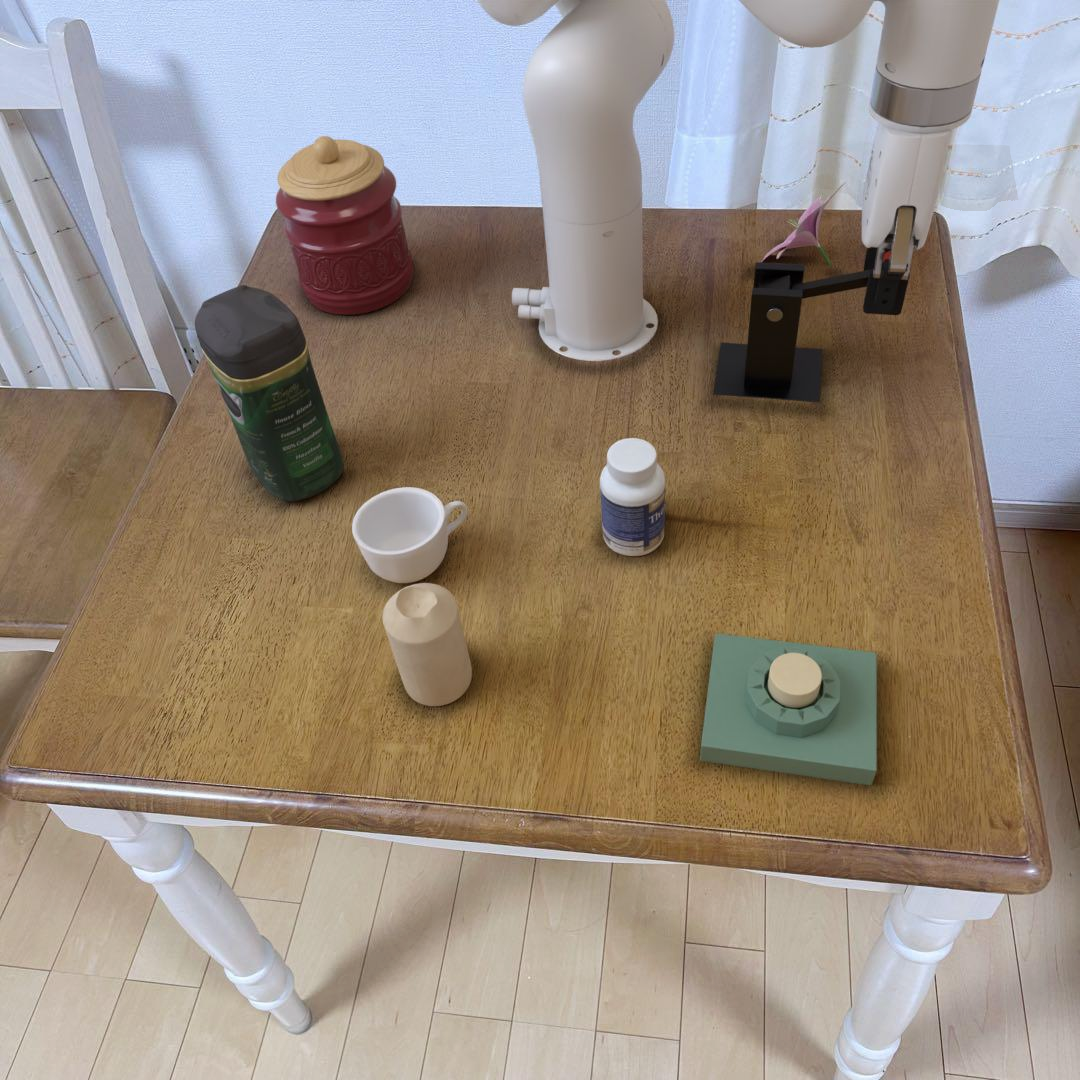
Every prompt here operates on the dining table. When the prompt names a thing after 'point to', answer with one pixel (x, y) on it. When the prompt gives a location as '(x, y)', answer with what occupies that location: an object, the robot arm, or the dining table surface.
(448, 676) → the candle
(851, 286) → the lever
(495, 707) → the dining table surface
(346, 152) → the kitchen canister
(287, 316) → the coffee jar
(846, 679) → the button box
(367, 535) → the teacup
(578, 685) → the dining table surface
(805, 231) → the lily
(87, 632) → the dining table surface
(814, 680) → the button
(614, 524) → the pill bottle
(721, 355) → the bracket
